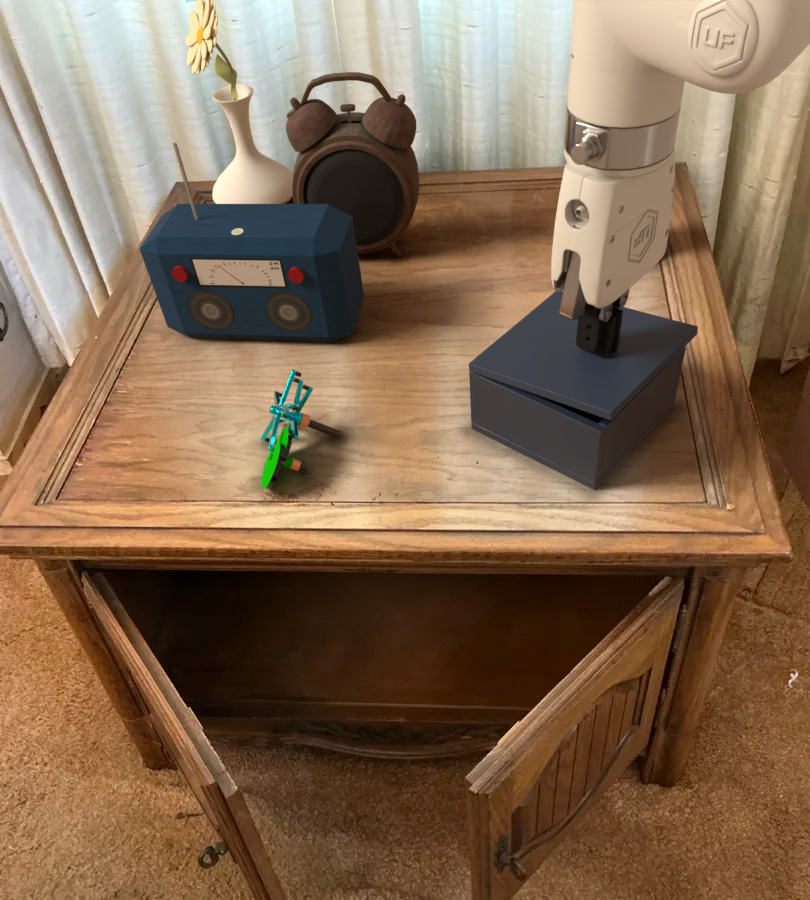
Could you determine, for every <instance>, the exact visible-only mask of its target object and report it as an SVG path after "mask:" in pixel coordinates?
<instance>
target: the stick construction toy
mask: <svg viewBox="0 0 810 900" xmlns="http://www.w3.org/2000/svg"><path fill="white" fill-rule="evenodd" d="M297 377H298V378H297ZM301 377H302V372H299V371H297V370H295V369H291V371H290V373H289V376H288V378H287V381H286V383H285V386H284V389H283V391H282V392H279V391H277V390H275V391H274V393H273V400H274V402H273V403H274V405H273V404H272V405H270V406H269V409H268V412H269V413H268V414H271V415H272V416H271V418H270V419H269V422H268V424H267V425H266V427H265V429H264V431H263V433H262V435H261V436H260V441H263V442H266V443H268V447H267V450H268V451H269V452H268V455H267V457H266V460H265V462H264V466H263V469H262V473H261V482H260V483H261V484H260V485H261V488H262V489H263V490H266V491H270V490H271V489H272V487H273V486H274V484H275V481H276V479H277V477H278V475H279V472H280V469H281V468H283V467H285V468H287V469H291V470H293V471H296V472H297V471H302V472H304V473H307V472H308V471H309V468H310V467H309V465H308V464H305V463H302V461H301V460H298V459H295V458H292V457H290V456H289V455H290V452H291V448H292V444H293V440H296V441H298V440H299V437H300V436H299V435H300V434H299V429H302V430H307V428H309V429H312V430H315V431H316V432H320V433H323V434H325V435H328V436H330V437H334V438H336V439H338V438H339V437H340V435H341V430H340V429H338V428H335V427H332V426H329V425H327V424H324V423H322V422H319V421H317V420H313V419H311V415H310V414H307V413H305V412H301V411H302V409H303V408H304V406H305V404H306V402H308V399H309V398H310V396H311V394H312V393H313V390H314V388H313V387H311V386H309V385H306V384H304V381H303V380H302V379H299V378H301ZM293 383H295V384H297V386H296V391H295V395H294V399H293V403H292V404H291V403H287V404H286V401H287V398H288V395H289V394H290V390H291V387H292V384H293ZM302 390H304V391H305V392H304V393H303V395H302ZM301 395H302V397H301ZM279 424H280V425H286V424H287V425H286V426H285V427H283V428H282V430H281V431H280V433H279V436H278V438H277V433H278V429H279ZM269 434H270V437H268V436H269ZM276 438H277V439H276ZM275 442H276V443H275Z"/></svg>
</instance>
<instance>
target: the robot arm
mask: <svg viewBox="0 0 810 900" xmlns="http://www.w3.org/2000/svg"><path fill="white" fill-rule="evenodd" d="M571 11H572V13H571V30H570V45H569V63H568V64H569V65H568V66H569V67H568V79H567V80H568V82H567V100H566V112H565V130H564V143H563V144H564V146H563V155H564V159H565V161H566V163H565V166H564V168H563V173H562V178H561V183H560V188H559V194H558V200H557V206H556V213H555V219H554V227H553V236H552V245H551V246H552V247H551V262H550V263H551V264H550V277H551V278H550V279H551V280H550V281H551V286H552V289H553V290H554V292H560V291H563V295H562V300H561V305H560V310H559V314H560V315H561V316H564V317H566V318H569V319H571V320H575V319H577V318H578V325H577V336H576V345H577V347H578V348H580V349H583V350H585V351H588V352H590V353H592V354H595V355H597V356H600V357H602V358H605V359H606V358H608V357H609V356H610V355H611V353H612V352H614V351H615V350H616V349H617V348H618V346H619V338H620V331H621V323H622V316H623V310H621V309H619V307H620V308H623V307H625V306H626V304H627V302H628V300H629V295H630V289H631V288H632V287H633V286H635V284H637V283H638V282H639V281H641V279H642V278H643V277H644V276H645V275H647V274H648V273H649V272H650V271H651V270H652V269H653V268H654V267H655V266H657V264H658V263H659V262H660V261H661V260H662V259H663V257H664V256H665V255H664V253H665V254H666V252H667V246H668V240H669V235H670V226H671V217H672V210H673V200H674V189H675V178H676V139H677V133H678V127H679V121H680V116H681V115H680V114H681V109H682V108H681V107H682V101H683V95H684V89H685V83H686V82H687V83H689V84H691V85H694V86H696V87H699V88H702V89H704V90H707V91H710V92H713V93H719V94H725V95H726V94H727V95H738V94H739V95H740V94H744V93H745V94H746V93H749V92H753V91H755V90H756V91H757V90H758V89H760V88H763V87H764V86H766V85H768V84H769V83H771V82H773V81H774V80H776V78H778V77H779V76H780V75H781V74H782V73H783V72H784V71H785V70H787V69H788V68H789V66H790V65H791V64H792V63H793V62H795V60H796V59H797V58H798V57H799V56H800V55H801V54H802V53H803V52H804V51H805V49H807V47H808V46H810V0H572V10H571ZM665 251H666V252H665ZM663 255H664V256H663Z"/></svg>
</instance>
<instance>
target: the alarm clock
mask: <svg viewBox="0 0 810 900" xmlns="http://www.w3.org/2000/svg"><path fill="white" fill-rule="evenodd" d="M343 81H344V82H347V81H353V82H354V81H357V82H361V83H362V82H363V83H367V84H371V85H373V87H375V89H376V90H377V91H378V93H379V94H380V95H381V96H382V97H379V98H376V99H375V100H373V102H371V104H369V106H368V107H367V108H366V110H365V112H361V111H360V112H359V111H357V112H356V104H354V103H344V104H341V105H340V106H339V110H340V112H341V113H338V114H337V112H336V110H334V109H333V107H331V106H330V105H329V104H328V103H326V102H325V101H323V100H322V99H319V98H310V99H309V96H310V94H311V92H312V90H313V89H314V88H317V87H319V86H322V85H324V84H327V83H334V82H343ZM289 102H290V103H289V104H290V105H291V107H292V109H291V110H289V111H288V112H287V114H286V117H285V118H287V120H286V123H285V134H286V136H287V138H288V142H289V144H290V145H291V147H292V149H293V150H294V152H296V153H298V154H297V156H296V160H295V162H294V163H295V164H294V167H293V184H292V195H293V197H292V201H293V204H329V205H331V206H333V207H335V208H337V209H339V210H341V211H343V212H345V213H347V214H348V215H350V216H352V217H353V223H354V230H355V237H356V244H357V250H358V255H359V254H361V255H363V254H369V253H374V252H378V251H380V250H383V249H386V248H387V247H388V248H389V249H391V251H392V252H394V253H395V256H396V258H400V257H402V255H403V254H402V251H400V250H399V248H398V247H397V245H396V243H395V242H396V241H398V240H399V239H400V238H401V237H402V236H403V235H404V233H405V232H406V231H407V230H408V228H409V226H410V224H411V222H412V219H413V217H414V214H415V211H416V208H417V204H418V201H419V195H420V175H419V174H420V173H419V165H418V160H417V156H416V153H415V152H414V149H413V146H412V145H413V144H414V141H415V138H416V133H417V118H416V117H415V114H414V112H413V110H412V109H411V108H410V107H409V106H408V105H407V104H406V103H405V102H406V95H405V94H404V93H400V94H399V95H398V96H397V98H395V97H392V96H391V95H390V93H389V91H388V90H387V88H385V86H384V85H383V83H382V82H381V80H380V79H379V78H378V77H376V76H375V75H372V74H367V73H365V72H359V71H355V72H354V71H346V72H345V71H344V72H333V73H327V74H322V75H321V76H318V77H315V78H313V79H311V80H310V81H309V82H308V83H307V85H306V87H305V91H304V93H303V95H302V97H301V101H299V99H298V98H296V97H291V98H290V100H289Z"/></svg>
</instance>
